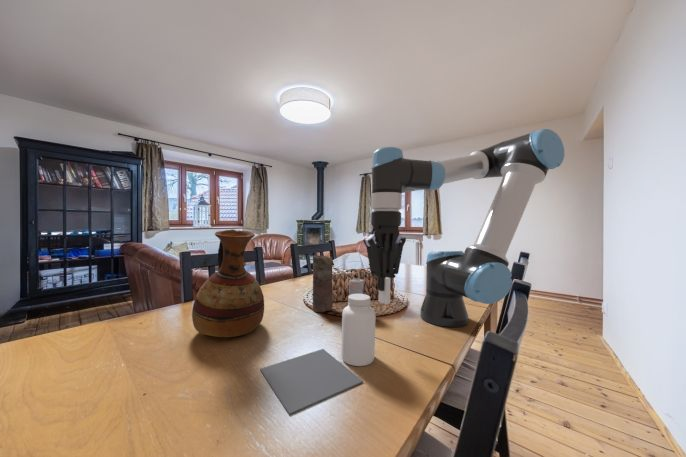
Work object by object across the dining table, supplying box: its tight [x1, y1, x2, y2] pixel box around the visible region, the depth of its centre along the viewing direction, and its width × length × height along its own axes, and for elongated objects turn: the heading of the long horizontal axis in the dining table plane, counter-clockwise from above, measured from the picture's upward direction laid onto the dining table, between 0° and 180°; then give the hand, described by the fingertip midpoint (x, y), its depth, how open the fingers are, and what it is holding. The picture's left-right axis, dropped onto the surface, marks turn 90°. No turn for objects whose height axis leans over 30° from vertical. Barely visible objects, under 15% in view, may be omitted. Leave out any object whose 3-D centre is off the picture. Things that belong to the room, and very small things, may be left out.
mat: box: [259, 348, 364, 416], centre depth 55 cm, size 16×16×1 cm
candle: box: [312, 254, 334, 313], centre depth 96 cm, size 8×7×20 cm
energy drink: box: [348, 278, 365, 296], centre depth 92 cm, size 5×5×12 cm
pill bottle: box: [340, 293, 377, 367], centre depth 62 cm, size 8×8×15 cm
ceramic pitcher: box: [191, 229, 265, 338], centre depth 78 cm, size 20×20×30 cm
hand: (384, 302), depth 67 cm, fingers closed
